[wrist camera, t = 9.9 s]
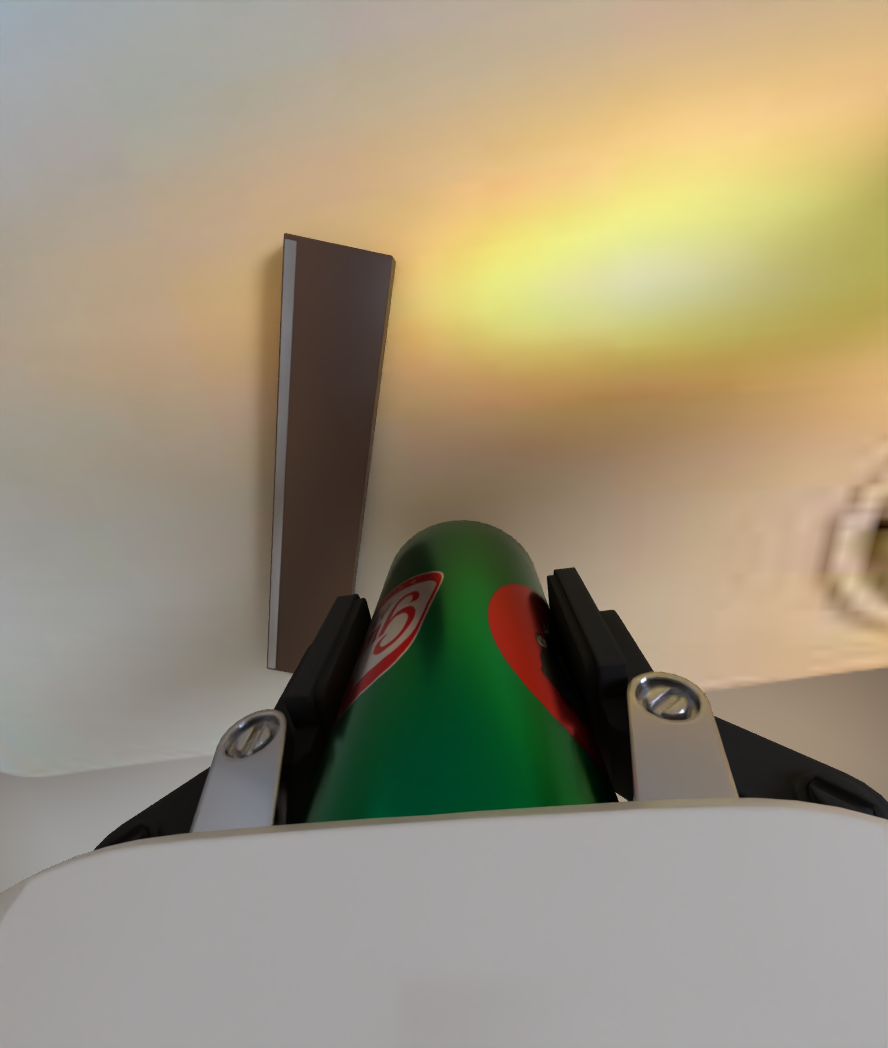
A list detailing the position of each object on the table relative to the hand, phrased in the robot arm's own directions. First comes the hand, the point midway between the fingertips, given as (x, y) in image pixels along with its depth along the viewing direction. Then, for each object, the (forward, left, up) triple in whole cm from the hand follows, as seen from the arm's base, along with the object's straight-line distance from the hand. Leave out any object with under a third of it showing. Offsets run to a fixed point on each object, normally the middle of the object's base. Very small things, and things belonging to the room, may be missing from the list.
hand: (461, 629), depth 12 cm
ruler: (-7, 0, -8) cm, 11 cm away
